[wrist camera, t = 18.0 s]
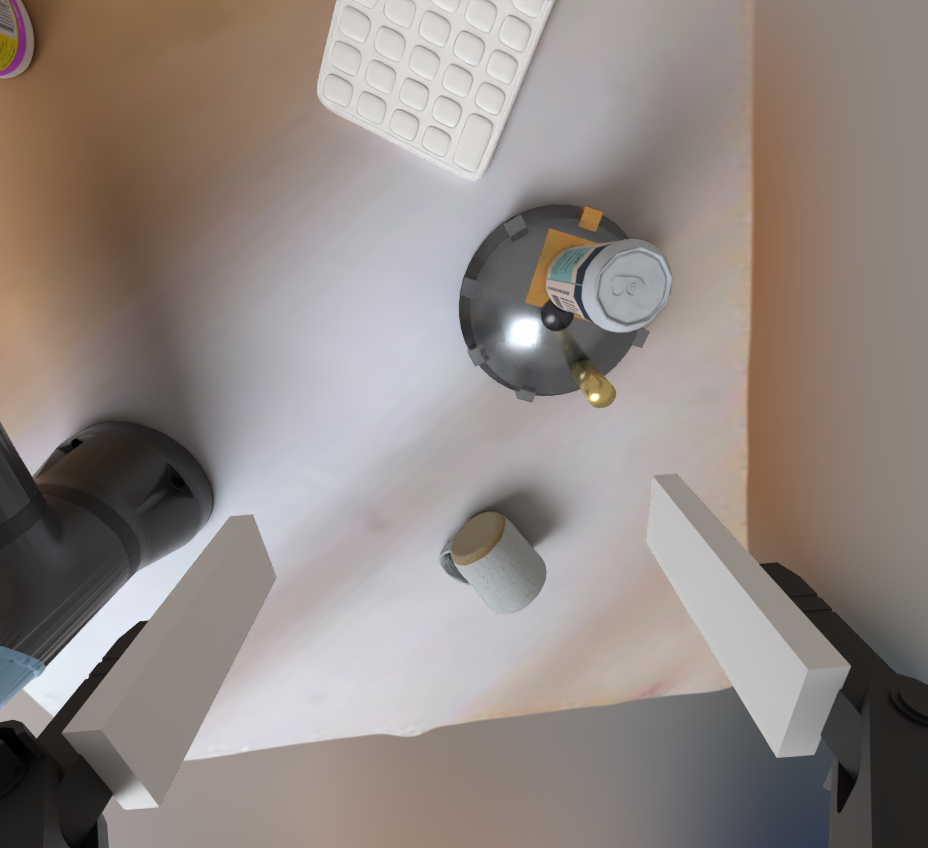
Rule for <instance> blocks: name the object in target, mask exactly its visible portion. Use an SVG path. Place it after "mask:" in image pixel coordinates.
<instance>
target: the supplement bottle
mask: <svg viewBox="0 0 928 848" xmlns="http://www.w3.org/2000/svg"><path fill="white" fill-rule="evenodd" d="M33 51H34V34H33V29H32V24H31V21H30V18H29V16H28V13H27V11H26V9H25V7H24V5H23V3H22V1H21V0H0V78H12V77H15V76H17V75H19V74H21V73H22V72H24V71H25V70H26V69H27V68H28V66H29V64H30V62H31V59H32V56H33Z"/></svg>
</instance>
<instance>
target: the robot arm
mask: <svg viewBox="0 0 928 848" xmlns="http://www.w3.org/2000/svg"><path fill="white" fill-rule="evenodd" d="M212 506H213V496H212V490H211V486H210V484H209V481H208V479H207V477H206V475H205V473H204V471H203V469H202V468H201V466H200V465H199V464H198V462H197V461H196V460H195V459H194V458H193V457H192V456H191V455H190V454H189V453H188V452H187V451H186V450H185V449H184V448H183V447H182V446H180V445H179V444H178V443H176V442H175V441H173V440H172V439H170V438H169V437H167V436H165V435H163V434H161V433H159V432H157V431H155V430H153V429H150V428H147V427H144V426H141V425H137V424H132V423H126V422H107V423H101V424H97V425H94V426H91V427H89V428H87V429H85V430H83V431H81V432H79V433H77V434H75V435H73V436H71V437H70V438H68V439H67V440H65V441H64V442H63V443H61V444H60V445H59V446H58V447H57V448H56V450H55V451H54V452H53V453H52V454H51V455H50V456H49V458H48V459H47V460H46V461H45V462H44V463H43V465H42V466H41V467H40V468H39V469H38V470H37V472H36V473H35V474H34V475H33V476H31V474H30V473H29V471H28V469H27V467H26V466H25V464H24V462H23V461H22V459H21V457H20V456H19V454H18V452H17V451H16V449H15V447H14V445H13V444H12V442H11V440H10V438H9V437H8V435H7V433H6V431H5V429H4V428H3V426H2V424H1V422H0V709H1V708H2V707H3V706H4V705H5V704H6V703H7V702H8V701H9V700H10V699H11V698H13V697H14V696H15V695H16V694H17V693H18V692H19V691H20V690H21V689H22V688H23V687H24V686H26V685H27V684H28V683H29V682H30V681H31V680H32V679H34V678H37V677H38V676H39V675H41V674H42V672H43V671H44V669H45V667H46V666H47V665H48V664H49V663H50V662H51V661H52V660H53V659H54V658H55V657H56V656H57V655H58V654H59V653H60V652H61V650H62V649H63V648H64V647H65V646H66V645H67V644H68V643H69V642H70V641H71V640H72V639H73V638H74V637H75V636H76V635H77V634H78V633H79V632H80V630H81V629H82V628H83V627H84V626H85V625H86V624H87V623H88V622H89V621H90V620H91V619H92V618H93V617H94V616H95V615H96V614H97V613H98V611H99V610H100V609H101V608H102V607H103V606H104V605H105V604H106V603H107V602H108V601H109V600H110V599H111V598H112V597H113V596H114V595H115V594H116V593H117V591H118V590H119V589H120V588H121V587H122V586H123V585H124V584H125V583H126V582H127V581H128V580H129V579H130V578H131V577H132V576H133V575H134V574H135V573H136V572H137V571H139V570H140V569H142V568H144V567H146V566H148V565H150V564H152V563H153V562H155V561H157V560H159V559H161V558H163V557H164V556H166V555H168V554H170V553H171V552H173V551H175V550H177V549H179V548H181V547H182V546H184V545H185V544H187V543H188V542H189V541H190V540H191V539H193V537H194V536H195V535H196V534H197V533H198V532H199V531H200V530H201V529H202V527H203V526H204V525H205V524H206V523H207V521H208V519H209V517H210V515H211V511H212ZM646 544H647V545H648V547H649V548H650V550H651V552H652V553H653V555H654V557H655V558H656V560H657V562H658V563H659V565H660V567H661V568H662V570H663V571H664V573H665V575H666V576H667V578H668V580H669V581H670V583H671V585H672V586H673V588H674V590H675V591H676V593H677V594H678V596H679V598H680V599H681V601H682V603H683V604H684V606H685V608H686V609H687V611H688V613H689V614H690V616H691V617H692V619H693V621H694V622H695V624H696V626H697V627H698V629H699V631H700V632H701V634H702V636H703V637H704V639H705V640H706V642H707V644H708V645H709V647H710V649H711V650H712V652H713V654H714V655H715V657H716V659H717V660H718V662H719V663H720V665H721V667H722V668H723V670H724V672H725V673H726V675H727V677H728V678H729V680H730V682H731V683H732V685H733V686H734V688H735V690H736V691H737V693H738V695H739V696H740V698H741V700H742V701H743V703H744V704H745V706H746V708H747V709H748V711H749V713H750V714H751V716H752V718H753V719H754V721H755V723H756V724H757V726H758V728H759V729H760V731H761V732H762V734H763V736H764V737H765V739H766V741H767V742H768V744H769V745H770V747H771V749H772V751H773V752H774V754H775V755H776V757H777V758H778V757H791V756H803V755H814V754H815V751H816V749H817V747H818V744H819V742H820V739H821V737H822V738H823V739H824V741H825V742H826V744H827V745H828V746H829V748H830V749H831V751H832V752H833V753H834V755H835V756H836V758H835V760H834V762H833V764H832V767H831V769H830V771H829V773H828V775H827V778H826V780H825V783H824V785H823V787H824V788H826V789H827V790H829V791H830V790H831V811H830V833H829V848H928V685H927V684H925V683H922V682H921V681H919V680H917V679H915V678H911V677H908V676H904V675H901V674H897V673H896V672H895V671H893V670H892V669H891V668H890V667H889V666H888V665H887V664H886V663H885V662H884V661H883V660H882V659H881V658H880V657H879V656H878V655H877V654H876V653H875V652H874V651H873V650H872V649H871V648H870V647H869V646H868V645H867V644H866V643H865V642H864V641H863V640H862V639H861V638H860V637H859V636H858V635H857V634H856V633H855V632H854V631H853V630H852V629H851V628H850V627H849V626H848V625H847V624H846V623H845V621H843V619H841V617H840V616H839V615H838V614H837V613H835V612H833V611H832V609H831V607H830V606H829V605H828V604H827V603H826V602H825V601H824V600H823V599H822V598H819V597H818V596H817V593H816V592H815V591H814V590H813V589H812V588H811V587H810V586H809V585H808V584H807V583H806V582H805V581H804V580H803V579H802V578H801V577H800V576H798V575H797V574H795V573H793V572H792V571H790V570H789V569H786V568H785V567H784V566H782V565H780V564H779V563H777V562H776V563H766V564H758V563H757V562H756V560H755V559H754V558H753V557H752V556H751V555H750V554H749V553H748V552H747V550H746V549H745V548H744V547H743V546H742V545H741V544H740V543H739V542H738V541H737V539H736V538H735V537H734V536H733V535H732V534H731V533H730V532H729V531H728V530H727V528H726V527H725V526H724V525H723V524H722V523H721V522H720V521H719V520H718V518H717V517H716V516H715V515H714V514H713V513H712V512H711V511H710V510H709V509H708V507H707V506H706V505H705V504H704V503H703V502H702V501H701V500H700V499H699V498H698V496H697V495H696V494H695V493H694V492H693V491H692V490H691V489H690V488H689V486H688V485H687V484H686V483H685V482H684V481H683V480H682V479H681V478H680V477H679V475H678V474H667V475H657V476H653V480H652V490H651V500H650V510H649V521H648V531H647V541H646ZM275 579H276V575H275V572H274V569H273V567H272V564H271V561H270V559H269V556H268V553H267V551H266V548H265V545H264V543H263V540H262V538H261V535H260V532H259V530H258V527H257V524H256V522H255V519H254V516H253V514H252V515H242V516H231V517H229V519H228V520H227V521H226V522H225V524H224V525H223V526H222V528H221V529H220V530H219V531H218V533H217V534H216V535H215V537H214V538H213V539H212V540H211V542H210V543H209V544H208V546H207V547H206V548H205V549H204V551H203V552H202V553H201V554H200V556H199V557H198V558H197V560H196V561H195V562H194V563H193V565H192V566H191V567H190V569H189V570H188V571H187V572H186V574H185V575H184V576H183V578H182V579H181V580H180V581H179V583H178V584H177V585H176V587H175V588H174V589H173V590H172V592H171V593H170V594H169V596H168V597H167V598H166V599H165V601H164V602H163V603H162V605H161V606H160V607H159V608H158V610H157V611H156V612H155V614H154V615H153V616H152V617H151V619H150V620H149V621H140V622H138V623H137V624H136V625H135V626H134V627H132V628H131V629H130V630H129V631H127V632H126V633H125V634H124V635H123V636H121V637H120V638H119V639H118V640H117V641H116V642H115V644H114V645H113V646H112V647H111V649H110V650H109V651H108V652H107V653H106V655H105V656H104V657H103V658H102V662H101V663H98V664H97V666H96V667H95V668H94V669H93V671H92V672H91V673H90V674H89V678H88V679H85V680H84V682H83V683H82V684H81V685H80V686H79V688H78V689H77V690H76V691H75V692H74V694H73V695H72V696H71V697H70V699H69V700H68V701H67V702H66V703H65V705H64V706H63V707H62V708H61V710H60V711H59V712H58V713H57V714H56V716H55V717H54V718H53V719H52V721H51V722H50V723H49V724H48V725H47V727H46V728H45V729H44V731H43V732H42V733H41V734H40V735H39V736H38V738H37V739H36V738H35V736H34V735H33V734H32V733H31V732H30V731H29V730H28V728H27V727H26V726H25V725H24V724H23V723H22V722H19V721H16V720H10V721H5V722H0V848H109V846H108V832H107V823H106V820H105V818H104V816H103V815H102V812H103V810H104V808H105V807H106V805H107V803H108V802H109V800H110V798H111V797H112V795H113V796H114V797H115V799H116V800H117V801H118V802H119V803H120V805H121V806H122V807H123V808H124V810H128V809H141V808H153V807H160V805H161V803H162V801H163V799H164V797H165V795H166V793H167V791H168V789H169V787H170V785H171V783H172V781H173V779H174V777H175V775H176V773H177V772H178V770H179V768H180V765H181V764H182V762H183V760H184V758H185V756H186V754H187V752H188V750H189V748H190V746H191V744H192V742H193V740H194V738H195V736H196V734H197V732H198V730H199V728H200V726H201V724H202V723H203V721H204V719H205V717H206V715H207V713H208V711H209V709H210V707H211V705H212V703H213V701H214V699H215V697H216V695H217V693H218V691H219V689H220V687H221V685H222V683H223V681H224V679H225V677H226V675H227V674H228V672H229V670H230V668H231V666H232V664H233V662H234V660H235V658H236V656H237V654H238V652H239V650H240V648H241V646H242V644H243V642H244V640H245V638H246V636H247V634H248V632H249V630H250V628H251V626H252V625H253V623H254V621H255V619H256V617H257V615H258V613H259V611H260V609H261V607H262V605H263V603H264V601H265V599H266V597H267V595H268V593H269V591H270V589H271V587H272V585H273V583H274V581H275ZM831 787H832V788H831Z"/></svg>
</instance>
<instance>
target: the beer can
mask: <svg viewBox="0 0 928 848" xmlns="http://www.w3.org/2000/svg"><path fill="white" fill-rule="evenodd" d="M671 283H672V274H671V269H670V266H669V263H668V261H667V259H666V257H665V255H664V254H663V253H662V252H661V250H660V249H659V248H657V247H656V246H655V245H653V244H651V243H649V242H647V241H644V240H639V239H625V240H621V241H615V242H608V243H600V244H593V245H585V246H575V247H571V248H568V249H566V250H564V251H562V252H561V253H559V254H558V255H557V256H556V257H555V259H554V260H553V261H552V262H551V264H550V266H549V268H548V271H547V275H546V290H547V293H548V296H549V297H550V299H551V301H552V302H553V303H554V304H555V305H556V306H557V307H559V308H560V309H563V310H565V311H569V312H572V313H574V314H576V315H578V316H581V317H583V318H585V319H587V320H589V321H592V322H594V323H595V324H597V325H598V326H600V327H601V328H603V329H606V330H608V331H612V332H630V331H633V330H637V329H639V328H642V327H643V326H645V325H647V324H648V323H650V322H651V321H652V320H653V319H654V318H655V317H656V316H657V315H658V314H659V313H660V312H661V310H662V309H663V307H664V306H665V304H666V303H667V300H668V297H669V294H670V291H671Z"/></svg>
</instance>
